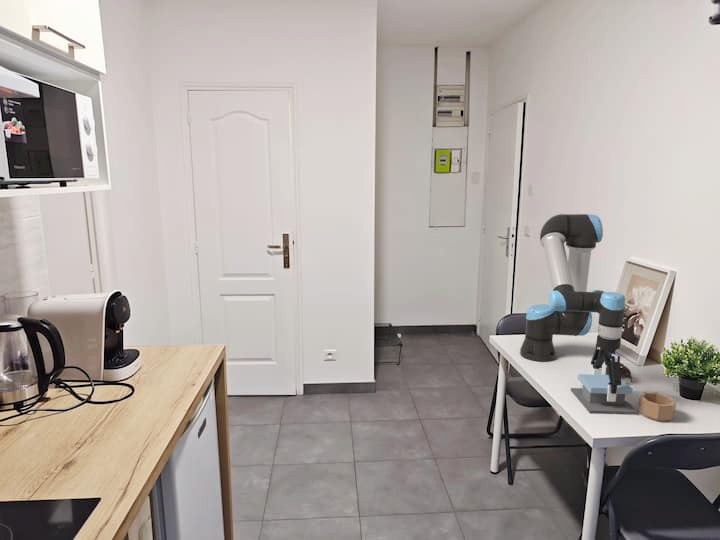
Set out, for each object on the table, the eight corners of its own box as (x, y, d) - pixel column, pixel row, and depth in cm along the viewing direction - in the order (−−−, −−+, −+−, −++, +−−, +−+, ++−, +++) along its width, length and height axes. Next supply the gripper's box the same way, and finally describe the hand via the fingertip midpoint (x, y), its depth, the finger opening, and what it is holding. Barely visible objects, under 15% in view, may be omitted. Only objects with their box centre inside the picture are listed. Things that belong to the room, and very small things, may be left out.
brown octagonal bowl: (633, 407, 171) (635, 391, 170) (662, 408, 171) (664, 392, 169) (648, 421, 161) (650, 405, 160) (679, 422, 161) (681, 406, 160)
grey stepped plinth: (570, 390, 185) (572, 375, 184) (613, 391, 184) (615, 376, 183) (589, 413, 167) (591, 397, 166) (637, 414, 166) (639, 398, 165)
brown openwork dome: (637, 387, 189) (630, 371, 186) (612, 394, 192) (605, 378, 190) (628, 368, 200) (621, 352, 197) (604, 375, 203) (597, 360, 200)
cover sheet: (577, 379, 181) (578, 374, 180) (616, 380, 180) (616, 374, 180) (590, 393, 169) (591, 387, 169) (632, 394, 168) (632, 388, 168)
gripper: (584, 325, 183) (579, 378, 187) (613, 348, 159) (607, 408, 163) (605, 325, 182) (599, 379, 187) (637, 348, 159) (630, 409, 163)
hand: (603, 393), depth 175 cm, fingers closed on cover sheet, 12 cm apart
